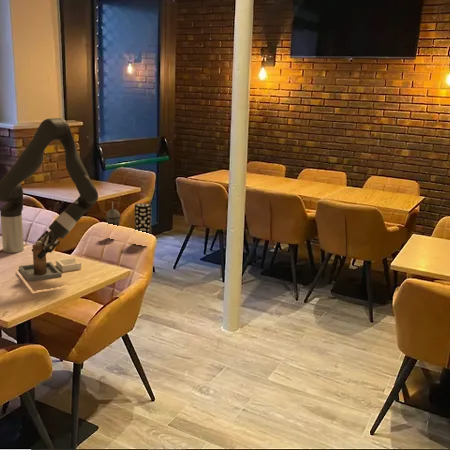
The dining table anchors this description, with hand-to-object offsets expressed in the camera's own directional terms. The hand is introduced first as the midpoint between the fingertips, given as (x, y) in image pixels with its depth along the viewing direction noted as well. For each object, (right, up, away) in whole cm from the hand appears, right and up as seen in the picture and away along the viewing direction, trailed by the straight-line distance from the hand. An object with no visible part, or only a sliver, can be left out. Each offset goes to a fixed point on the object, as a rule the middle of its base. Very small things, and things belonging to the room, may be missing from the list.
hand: (35, 255), depth 210 cm
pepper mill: (+1, -8, +3) cm, 8 cm away
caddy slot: (+10, -7, +12) cm, 17 cm away
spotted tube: (+35, +3, +55) cm, 65 cm away
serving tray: (+1, -9, +3) cm, 9 cm away
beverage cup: (+18, +5, +61) cm, 64 cm away
